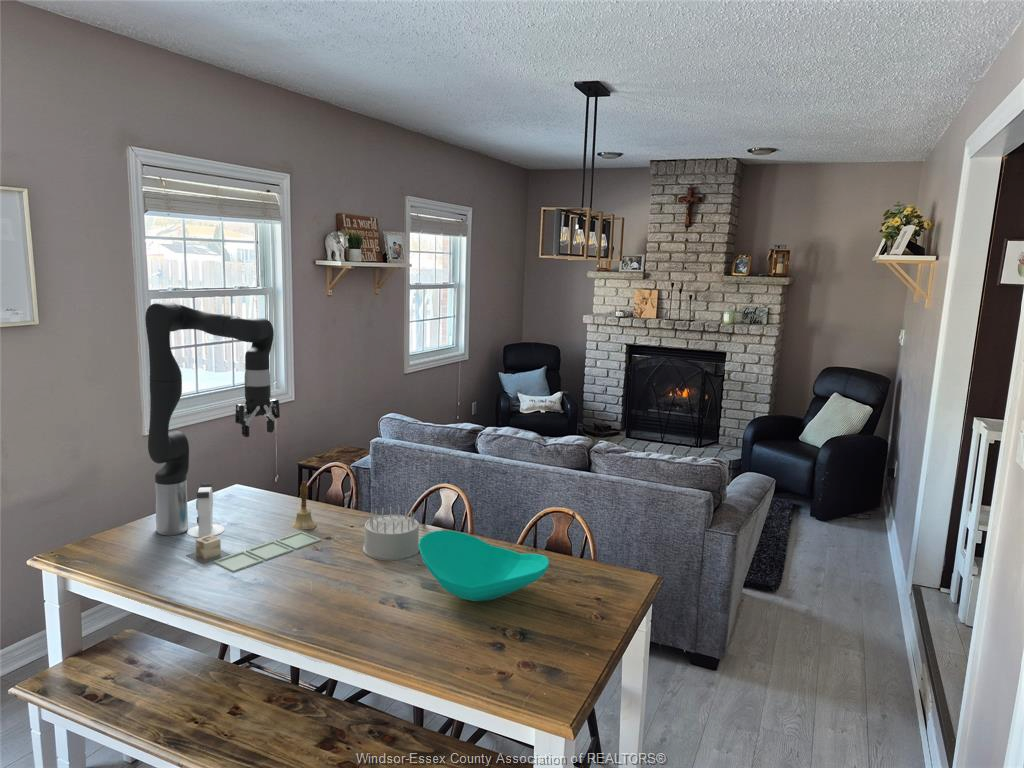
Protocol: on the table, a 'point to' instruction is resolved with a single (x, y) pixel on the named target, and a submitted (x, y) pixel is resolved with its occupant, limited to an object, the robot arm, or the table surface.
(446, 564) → the table top decor
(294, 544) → the tray
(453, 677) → the table surface
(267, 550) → the tray
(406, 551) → the cake
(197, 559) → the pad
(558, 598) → the table surface
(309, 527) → the hand bell
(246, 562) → the tray
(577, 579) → the table surface
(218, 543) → the letter cube
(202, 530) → the white post on base
